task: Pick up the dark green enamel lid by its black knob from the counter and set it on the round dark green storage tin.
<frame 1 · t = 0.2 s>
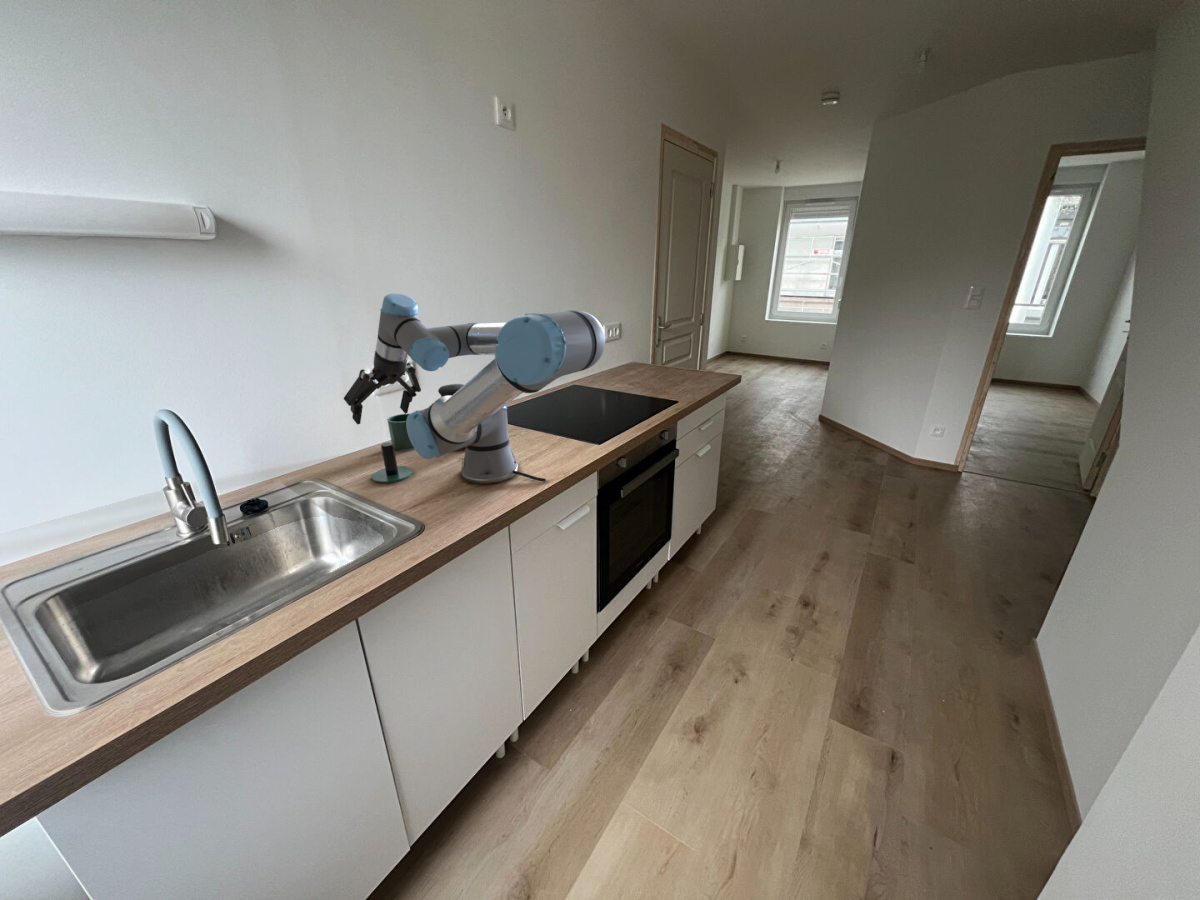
hand: (380, 415, 126), 15 cm above the worktop, tool tilted 30°, fingers open, 13 cm apart
tin: (408, 445, 146), on the worktop
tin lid: (392, 475, 123), point 1 cm above the worktop
container: (460, 446, 145), on the worktop
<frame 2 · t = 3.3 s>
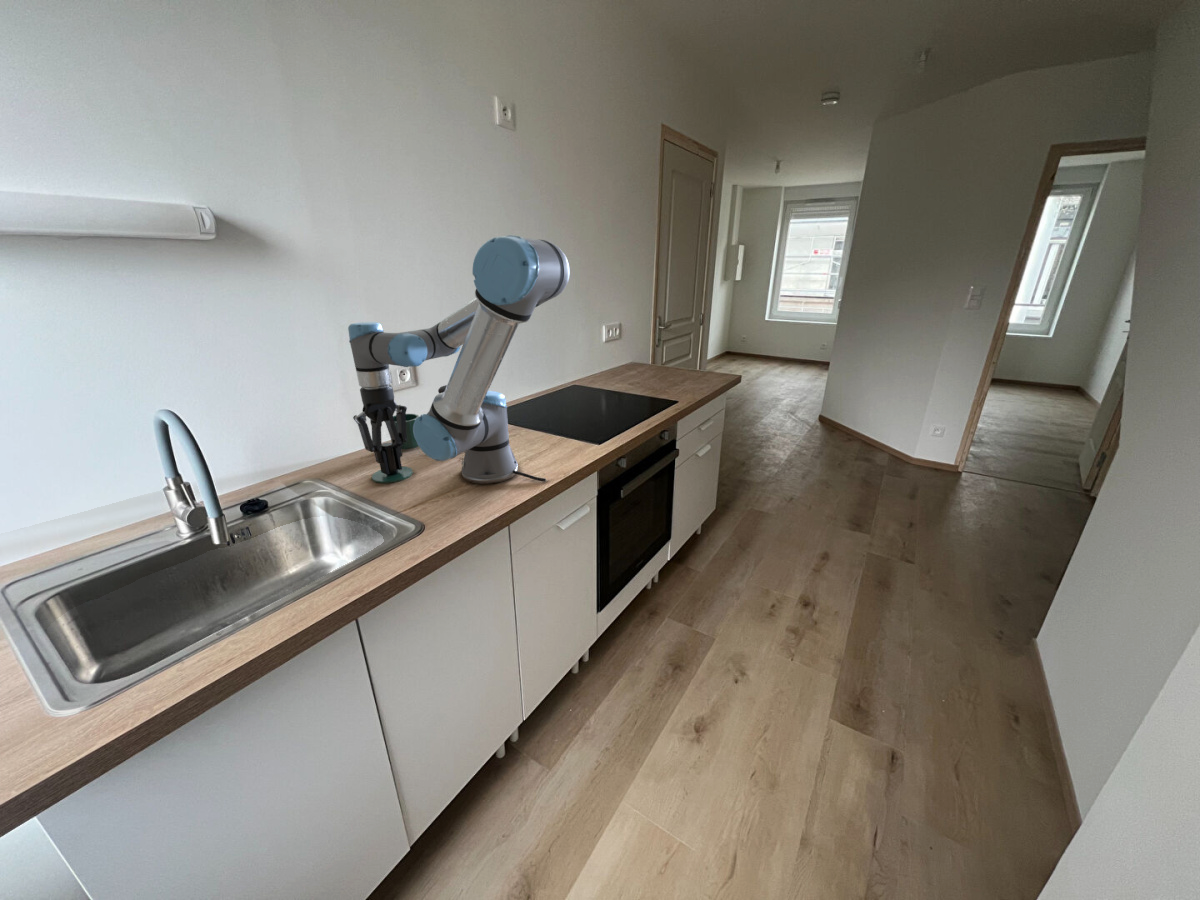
hand: (391, 470, 122), 2 cm above the worktop, tool pointing down, fingers closed on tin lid, 3 cm apart
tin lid: (392, 475, 123), point 1 cm above the worktop, touching gripper
everything else where it was.
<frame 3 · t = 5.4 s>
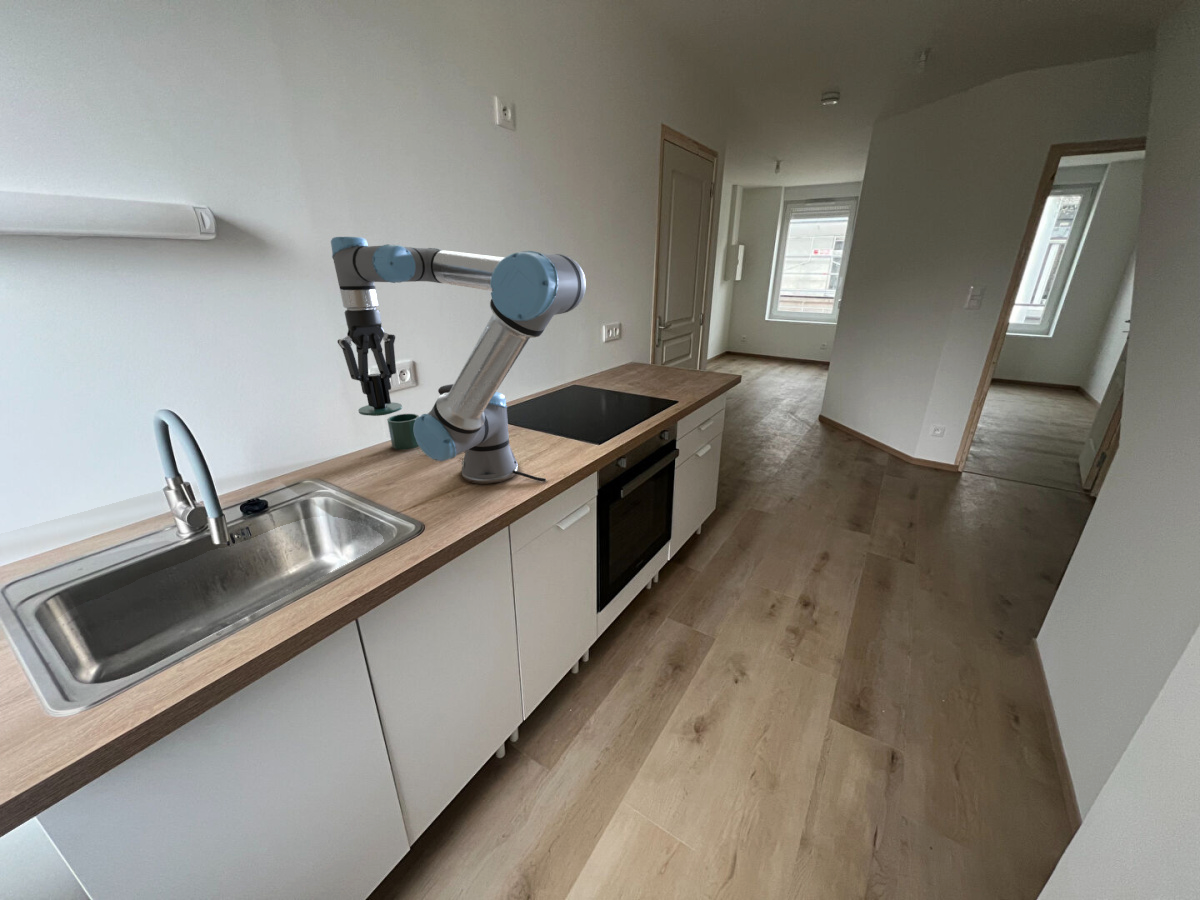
hand: (379, 404, 116), 21 cm above the worktop, tool pointing down, fingers closed on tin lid, 3 cm apart
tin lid: (380, 409, 116), point 19 cm above the worktop, touching gripper
everything else where it was.
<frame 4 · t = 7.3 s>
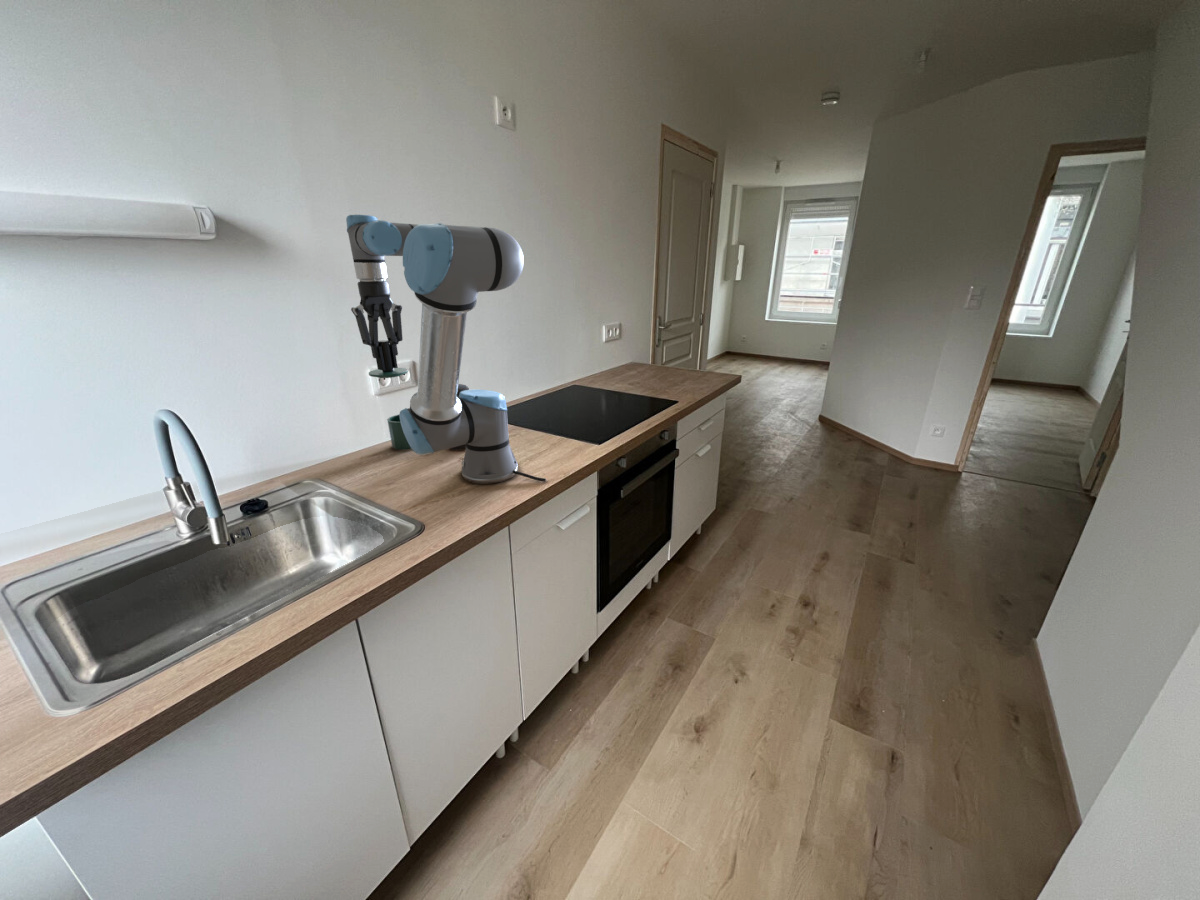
hand: (387, 368, 129), 27 cm above the worktop, tool pointing down, fingers closed on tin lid, 3 cm apart
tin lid: (388, 373, 129), point 25 cm above the worktop, touching gripper
everything else where it was.
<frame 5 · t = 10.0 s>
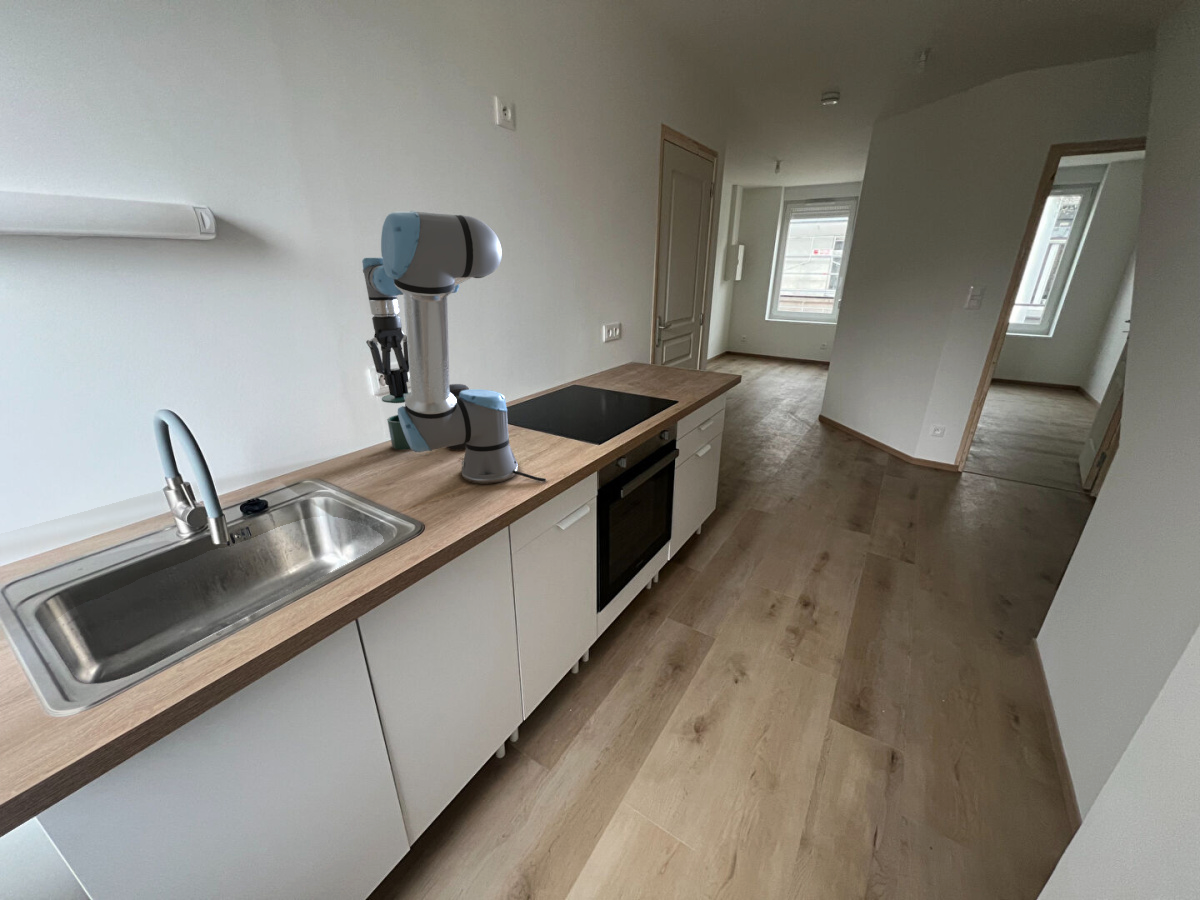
hand: (399, 393, 140), 17 cm above the worktop, tool pointing down, fingers closed on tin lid, 3 cm apart
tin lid: (399, 398, 140), point 16 cm above the worktop, touching gripper
everything else where it was.
when the fingers open (11 cm above the worktop, at t = 11.7 s): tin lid stays where it is, resting on tin.
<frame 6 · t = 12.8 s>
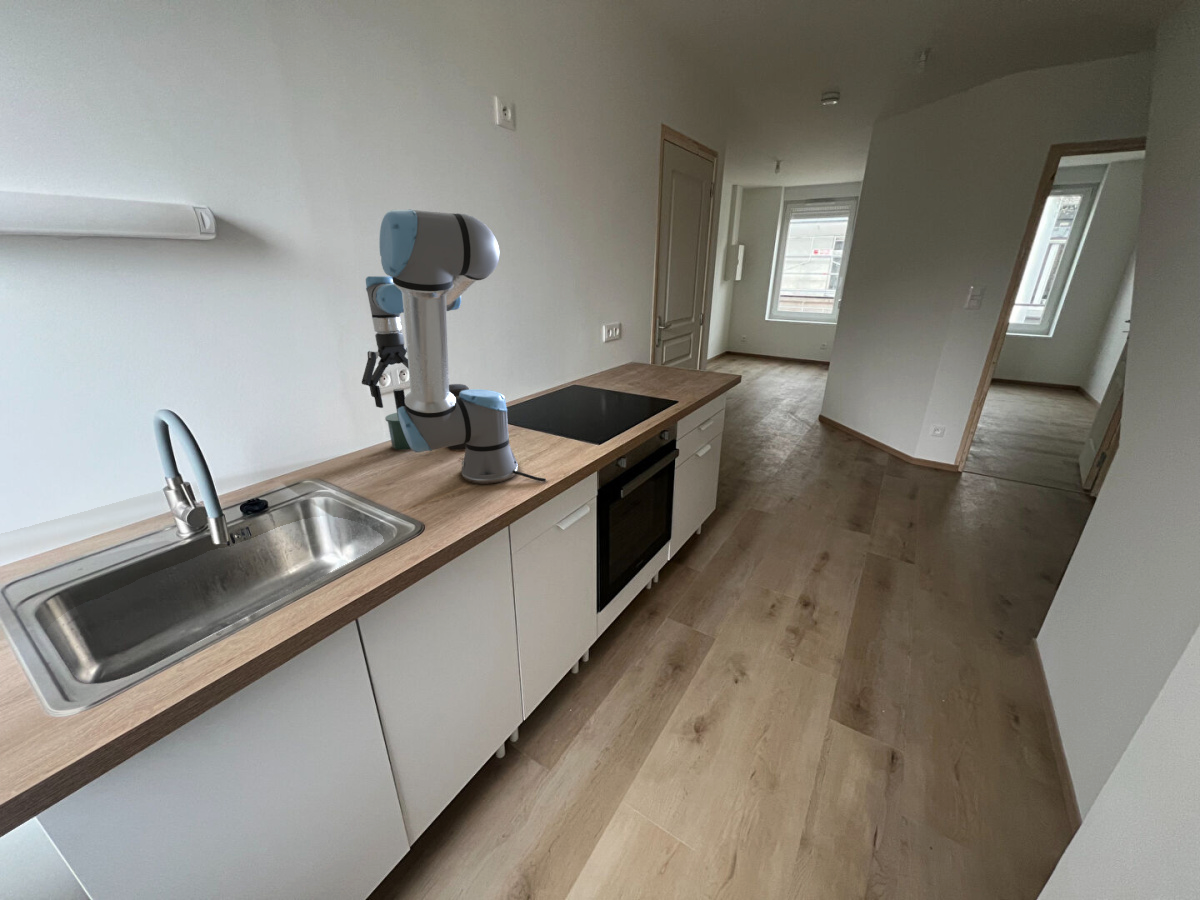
hand: (400, 402, 140), 15 cm above the worktop, tool pointing down, fingers open, 13 cm apart
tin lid: (403, 417, 142), point 9 cm above the worktop, touching tin
everything else where it was.
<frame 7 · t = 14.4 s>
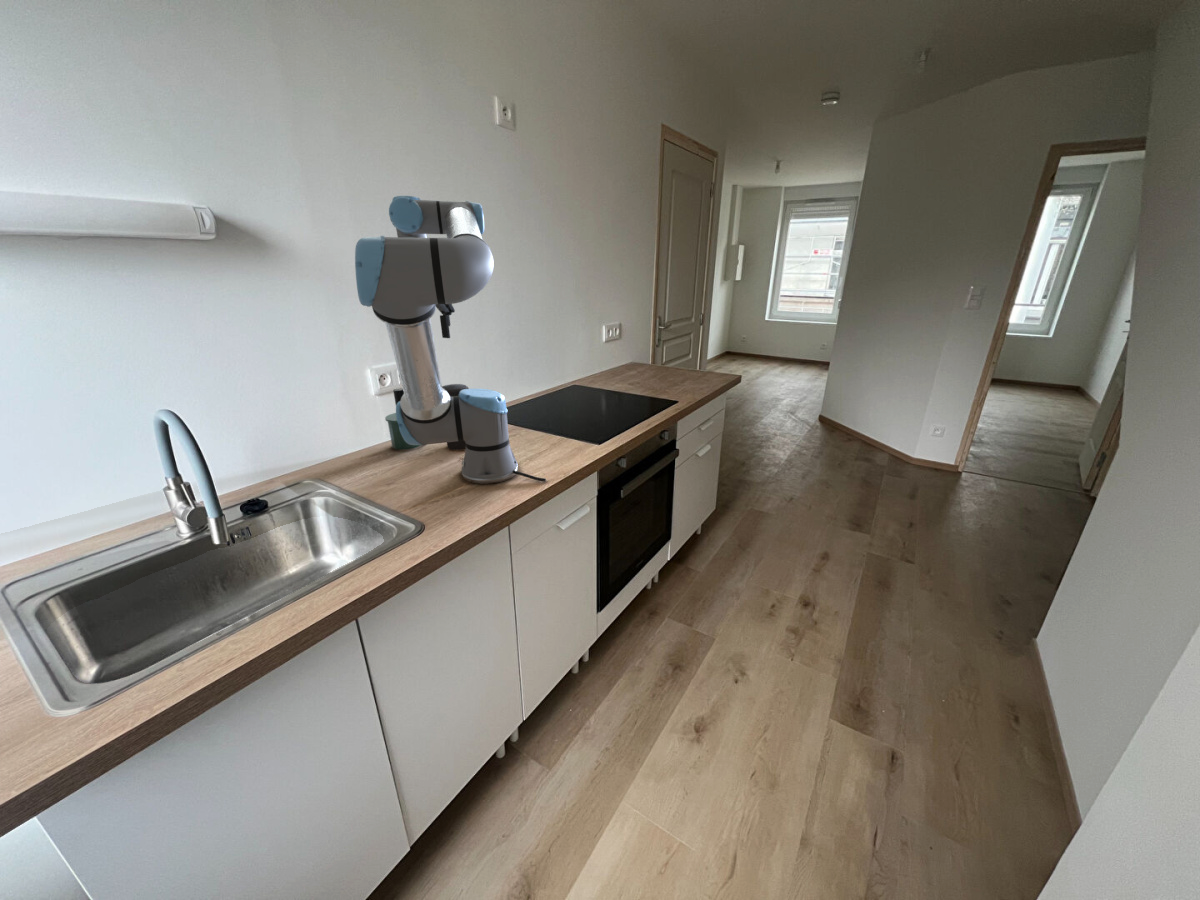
hand: (426, 340, 131), 34 cm above the worktop, tool pointing down, fingers open, 13 cm apart
nothing on the worktop moved.
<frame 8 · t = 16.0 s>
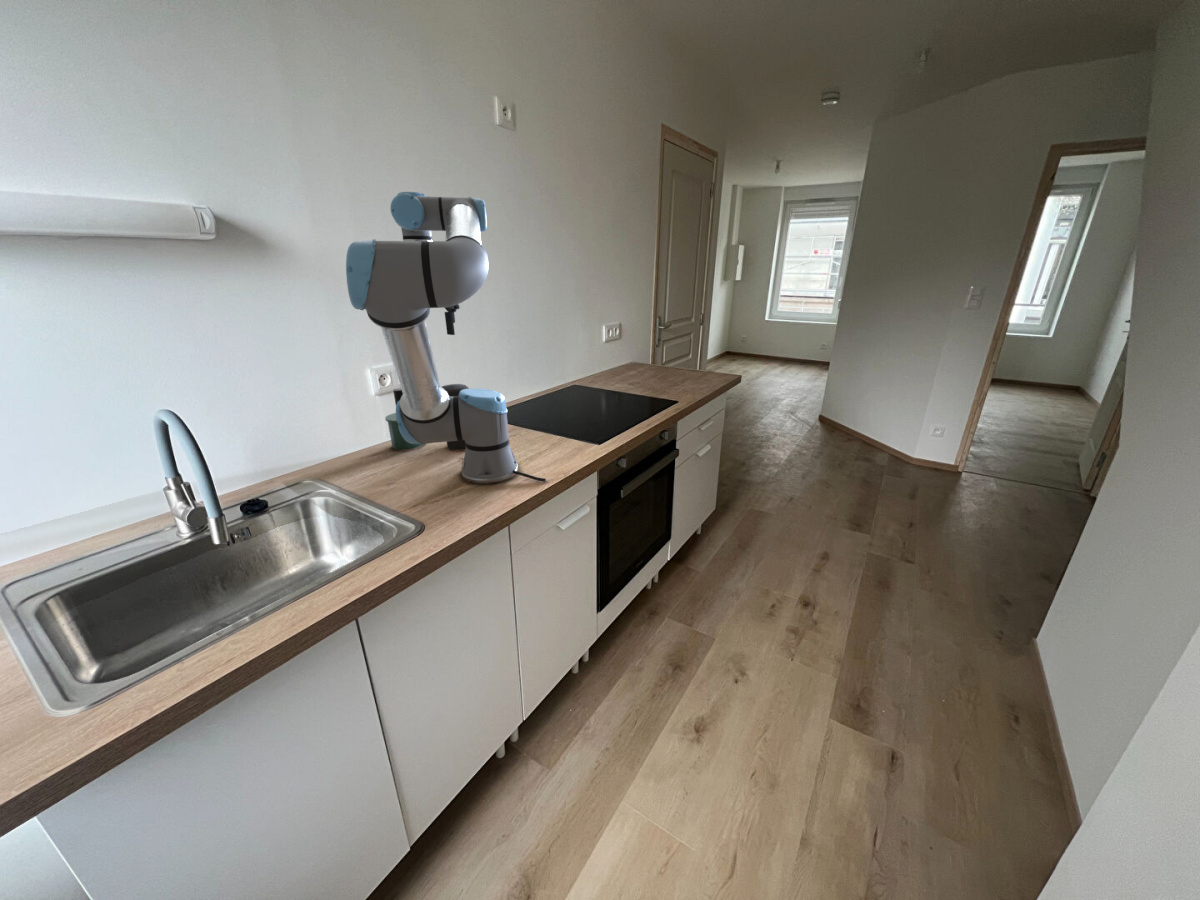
hand: (431, 337, 131), 35 cm above the worktop, tool pointing down, fingers open, 13 cm apart
nothing on the worktop moved.
at the end: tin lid 0.1 cm off-centre on the tin, point 9.5 cm above the tin's base; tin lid tilted 0°; the gripper is holding nothing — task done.
